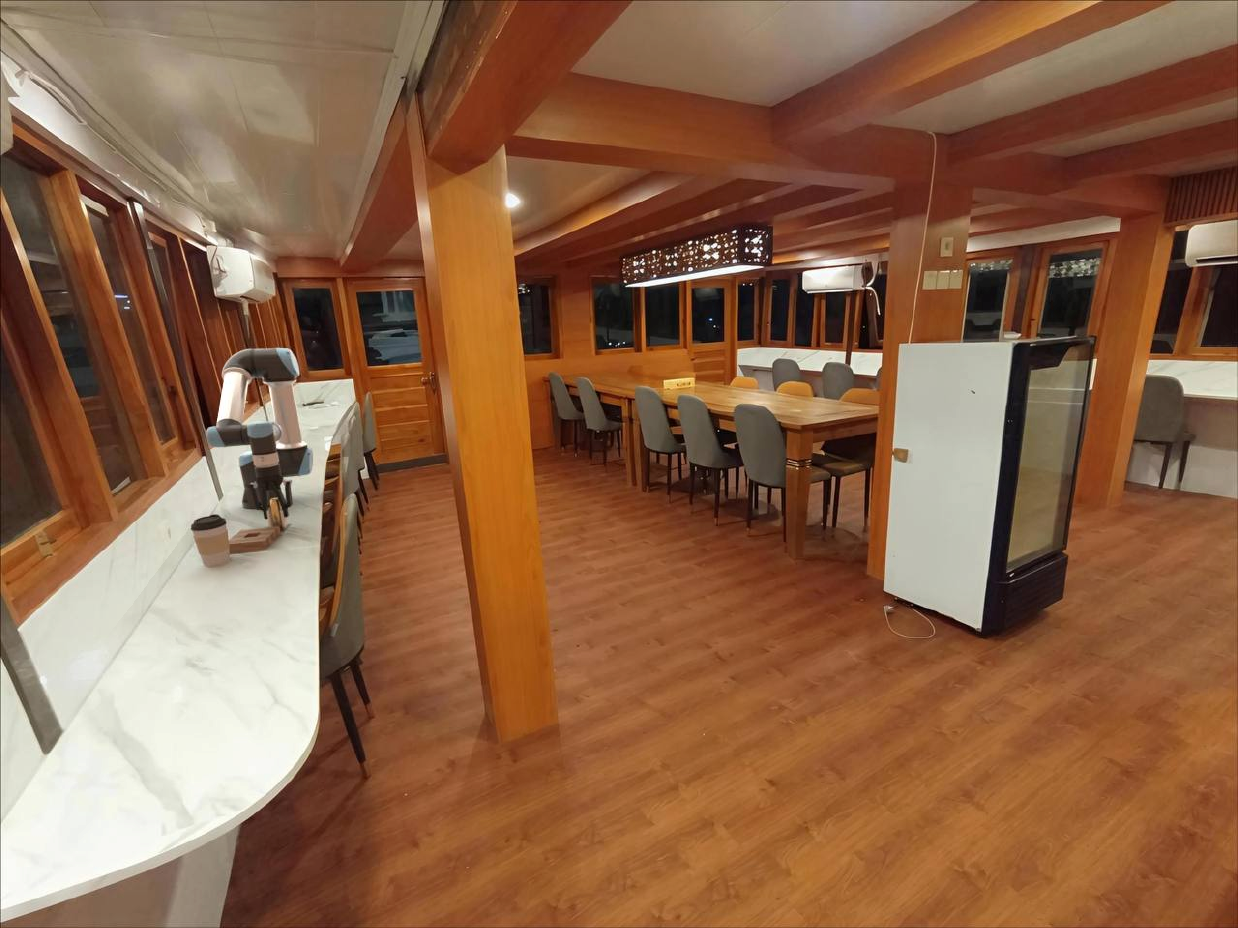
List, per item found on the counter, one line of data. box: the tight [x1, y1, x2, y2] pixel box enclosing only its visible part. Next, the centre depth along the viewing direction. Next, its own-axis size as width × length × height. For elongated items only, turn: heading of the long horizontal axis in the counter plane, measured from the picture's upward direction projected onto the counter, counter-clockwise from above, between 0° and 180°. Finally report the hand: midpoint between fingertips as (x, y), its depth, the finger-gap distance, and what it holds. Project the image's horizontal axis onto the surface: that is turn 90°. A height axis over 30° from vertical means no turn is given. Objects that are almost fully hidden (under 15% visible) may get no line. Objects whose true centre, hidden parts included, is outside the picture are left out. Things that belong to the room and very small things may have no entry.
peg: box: [268, 498, 284, 531], centre depth 193 cm, size 3×3×12 cm
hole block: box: [229, 526, 282, 554], centre depth 182 cm, size 14×12×4 cm
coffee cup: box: [190, 513, 231, 568], centre depth 167 cm, size 9×9×15 cm
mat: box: [267, 523, 292, 534], centre depth 195 cm, size 10×8×1 cm
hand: (278, 526), depth 194 cm, fingers open, 4 cm apart
